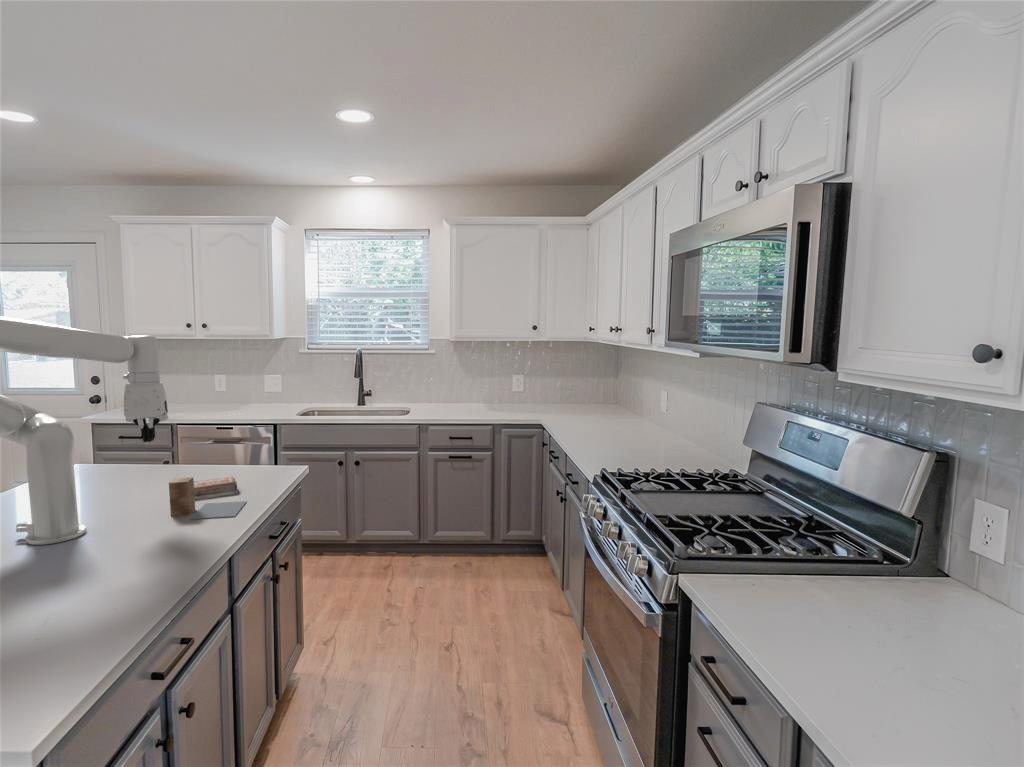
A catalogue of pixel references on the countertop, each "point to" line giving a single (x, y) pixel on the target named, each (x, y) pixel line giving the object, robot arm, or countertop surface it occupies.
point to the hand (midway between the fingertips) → (148, 440)
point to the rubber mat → (218, 510)
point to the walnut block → (182, 496)
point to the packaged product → (215, 488)
